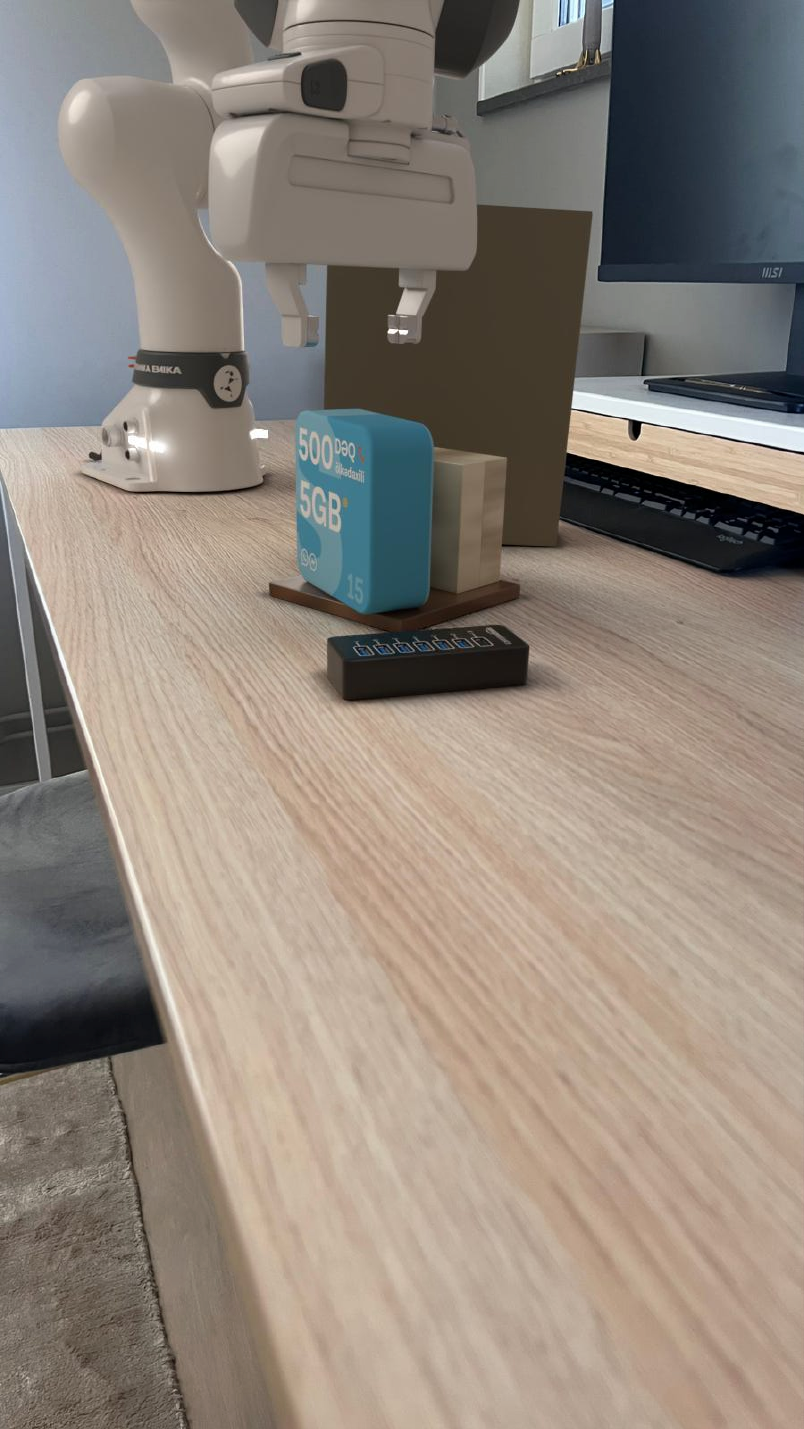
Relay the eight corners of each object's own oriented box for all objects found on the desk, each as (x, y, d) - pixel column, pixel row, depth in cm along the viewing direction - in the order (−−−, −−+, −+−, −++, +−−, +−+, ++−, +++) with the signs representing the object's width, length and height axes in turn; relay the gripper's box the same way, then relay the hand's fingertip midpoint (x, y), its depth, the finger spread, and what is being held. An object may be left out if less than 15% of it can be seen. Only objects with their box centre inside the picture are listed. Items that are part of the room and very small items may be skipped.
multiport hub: (325, 673, 60) (325, 635, 59) (500, 659, 63) (502, 622, 62) (344, 701, 56) (344, 661, 55) (529, 684, 59) (532, 645, 58)
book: (542, 530, 100) (576, 211, 90) (563, 553, 92) (603, 203, 81) (321, 522, 99) (328, 196, 88) (321, 545, 90) (329, 186, 79)
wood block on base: (268, 595, 75) (265, 455, 71) (389, 565, 84) (392, 439, 80) (401, 635, 67) (405, 479, 63) (519, 597, 76) (529, 459, 72)
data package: (296, 576, 76) (293, 408, 72) (351, 570, 78) (352, 406, 74) (369, 621, 66) (371, 429, 62) (430, 612, 68) (436, 426, 64)
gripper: (432, 122, 70) (424, 339, 75) (186, 74, 56) (197, 345, 61) (507, 116, 66) (492, 345, 72) (263, 63, 52) (267, 352, 57)
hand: (354, 345), depth 66 cm, fingers open, 8 cm apart
